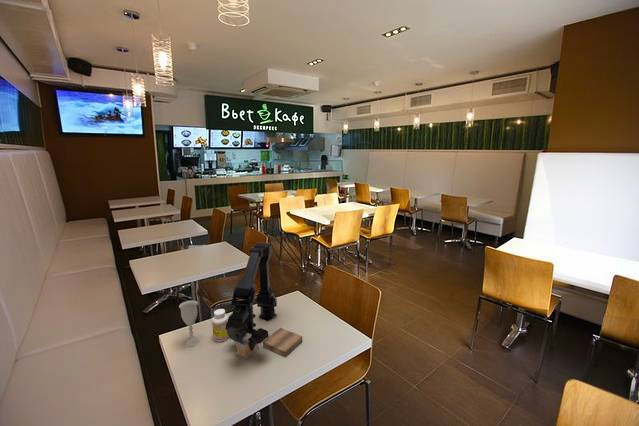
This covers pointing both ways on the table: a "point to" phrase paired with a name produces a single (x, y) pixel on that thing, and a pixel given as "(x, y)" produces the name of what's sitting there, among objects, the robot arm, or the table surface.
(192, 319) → the chalice
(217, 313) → the supplement bottle
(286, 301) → the table surface
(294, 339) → the walnut stand
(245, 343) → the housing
